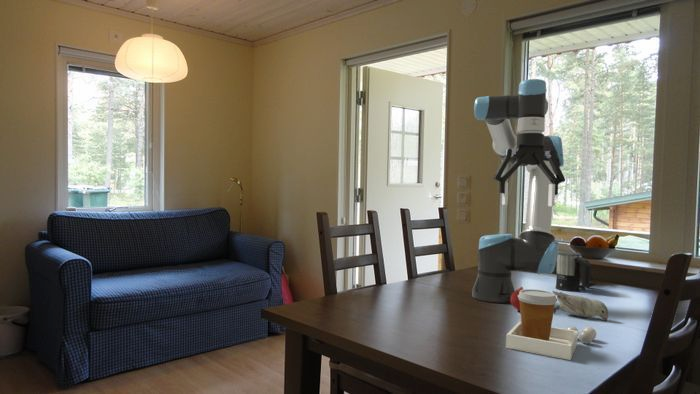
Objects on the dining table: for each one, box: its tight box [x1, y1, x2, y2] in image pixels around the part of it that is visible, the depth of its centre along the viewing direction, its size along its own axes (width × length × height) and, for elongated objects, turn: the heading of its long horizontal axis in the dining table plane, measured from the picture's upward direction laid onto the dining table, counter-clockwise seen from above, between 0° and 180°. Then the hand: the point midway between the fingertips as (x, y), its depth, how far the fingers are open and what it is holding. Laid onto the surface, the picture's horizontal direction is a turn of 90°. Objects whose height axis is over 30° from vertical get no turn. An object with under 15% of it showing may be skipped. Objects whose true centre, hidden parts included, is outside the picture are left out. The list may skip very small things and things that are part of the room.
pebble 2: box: [578, 330, 594, 344], centre depth 125 cm, size 3×3×3 cm
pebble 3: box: [582, 326, 597, 341], centre depth 128 cm, size 3×3×3 cm
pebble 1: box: [566, 326, 580, 336], centre depth 128 cm, size 3×3×3 cm
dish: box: [505, 321, 579, 361], centre depth 121 cm, size 15×15×3 cm
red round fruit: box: [510, 286, 524, 312], centre depth 157 cm, size 6×6×8 cm
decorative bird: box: [552, 290, 609, 322], centre depth 152 cm, size 5×16×8 cm, turn 61°
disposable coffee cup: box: [518, 288, 558, 341], centre depth 124 cm, size 10×10×12 cm
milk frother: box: [555, 251, 599, 292], centre depth 197 cm, size 14×16×15 cm
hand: (527, 205), depth 142 cm, fingers open, 13 cm apart
